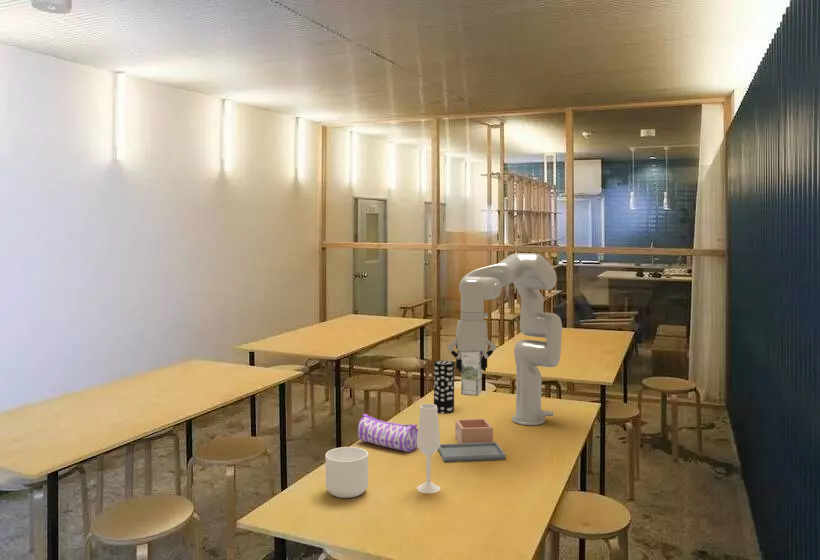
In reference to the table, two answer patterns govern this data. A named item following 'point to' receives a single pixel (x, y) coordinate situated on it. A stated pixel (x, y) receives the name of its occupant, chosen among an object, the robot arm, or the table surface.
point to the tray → (471, 452)
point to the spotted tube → (444, 386)
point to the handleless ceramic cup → (346, 471)
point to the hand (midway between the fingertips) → (471, 370)
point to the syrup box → (471, 373)
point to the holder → (473, 431)
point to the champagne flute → (428, 442)
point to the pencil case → (388, 434)
